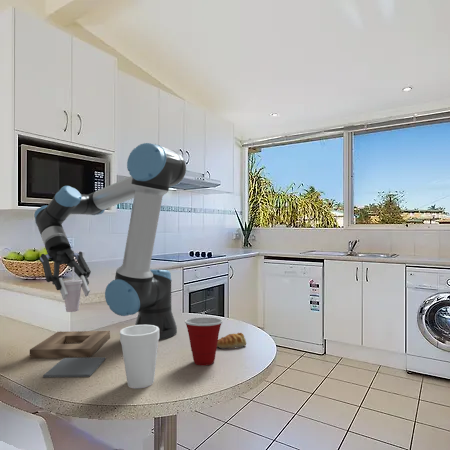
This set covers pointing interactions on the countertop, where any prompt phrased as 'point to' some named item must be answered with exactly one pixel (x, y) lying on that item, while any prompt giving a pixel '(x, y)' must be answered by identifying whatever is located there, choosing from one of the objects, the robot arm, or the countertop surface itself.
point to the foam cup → (140, 354)
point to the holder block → (59, 349)
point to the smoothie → (72, 293)
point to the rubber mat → (75, 367)
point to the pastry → (232, 341)
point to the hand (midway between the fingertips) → (76, 295)
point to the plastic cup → (203, 338)
